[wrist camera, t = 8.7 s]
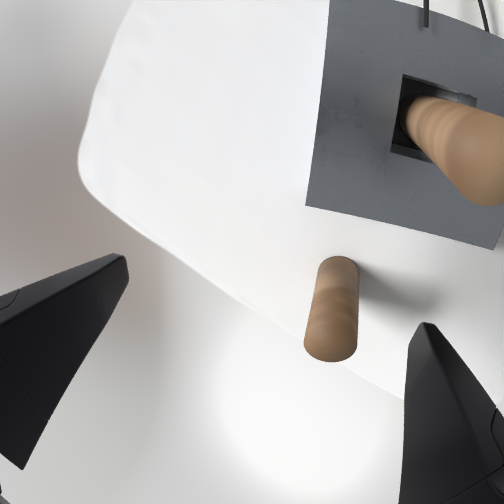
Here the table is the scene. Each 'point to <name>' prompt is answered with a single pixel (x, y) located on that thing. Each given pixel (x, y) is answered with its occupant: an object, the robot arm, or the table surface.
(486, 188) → the long dowel
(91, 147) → the table surface
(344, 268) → the medium dowel
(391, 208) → the hole plate
